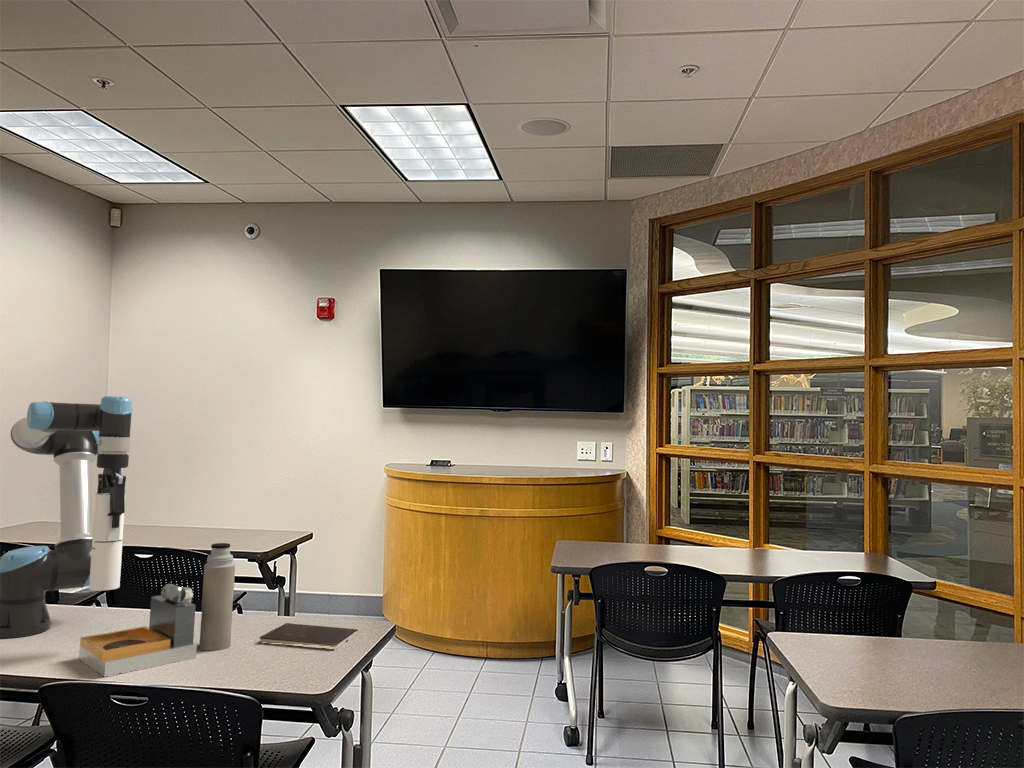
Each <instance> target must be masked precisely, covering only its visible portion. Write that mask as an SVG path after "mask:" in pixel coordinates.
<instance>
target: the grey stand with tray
mask: <svg viewBox="0 0 1024 768" xmlns="http://www.w3.org/2000/svg"><path fill="white" fill-rule="evenodd" d="M181 587H182V586H181ZM181 587H180V586H178V585H176V584H173V583H167V584H165V585H163V587H162V589H161V591H160V595H155V596H151V597H150V607H149V608H150V609H149V624H148V625H149V627H148V626H146V625H145V626H139V627H133V628H127V629H121V630H117V631H115V630H114V631H111V632H110V631H109V632H105V633H100V634H99V633H98V634H95V635H89V636H82V637H80V639H79V652H78V653H79V654H78V660H79V661H80V660H81V662H82V663H83V662H84V663H83V664H85V665H86V664H87V665H88V667H89V666H90V667H91V668H90V667H89V668H90V669H92V668H93V669H94V670H95V671H94V670H93V669H92V670H93V671H94V672H96V671H97V672H98V673H97V672H96V673H97V674H99V673H100V674H101V675H102V676H101V675H100V674H99V675H100V676H101V677H103V676H104V677H103V678H107V677H106V676H109V677H111V676H110V675H114V676H117V675H116V674H118V675H120V674H119V673H123V674H126V673H125V672H128V673H131V672H130V671H132V672H136V671H135V670H137V671H141V670H145V669H149V668H154V667H159V666H164V665H169V664H173V663H177V662H182V661H186V660H187V659H188V660H192V659H196V658H197V646H198V644H197V643H196V642H194V636H195V619H196V607H197V606H196V604H194V603H192V602H191V603H190V602H187V601H185V600H184V598H185V596H186V592H185V590H184V589H183V588H181ZM87 665H86V666H87Z"/></svg>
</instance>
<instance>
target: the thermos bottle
mask: <svg viewBox="0 0 1024 768" xmlns="http://www.w3.org/2000/svg"><path fill="white" fill-rule="evenodd" d="M210 545H211V552H210V554H209V555H207V560H206V563H205V564H204V566H203V580H202V596H201V597H202V600H201V615H200V616H201V617H200V618H201V619H200V629H199V630H200V631H199V632H200V633H199V649H200V650H202V649H203V650H202V651H208V650H214V651H220V650H221V649H222V650H224V648H225V649H227V647H228V648H229V646H230V647H231V643H232V627H233V625H232V624H233V603H234V593H235V592H234V589H235V578H236V577H235V575H236V573H235V572H236V563H235V562H233V561H234V555H233V554H231V548H230V547H231V544H230V543H227V542H226V543H225V542H217V543H212V544H210Z"/></svg>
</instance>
